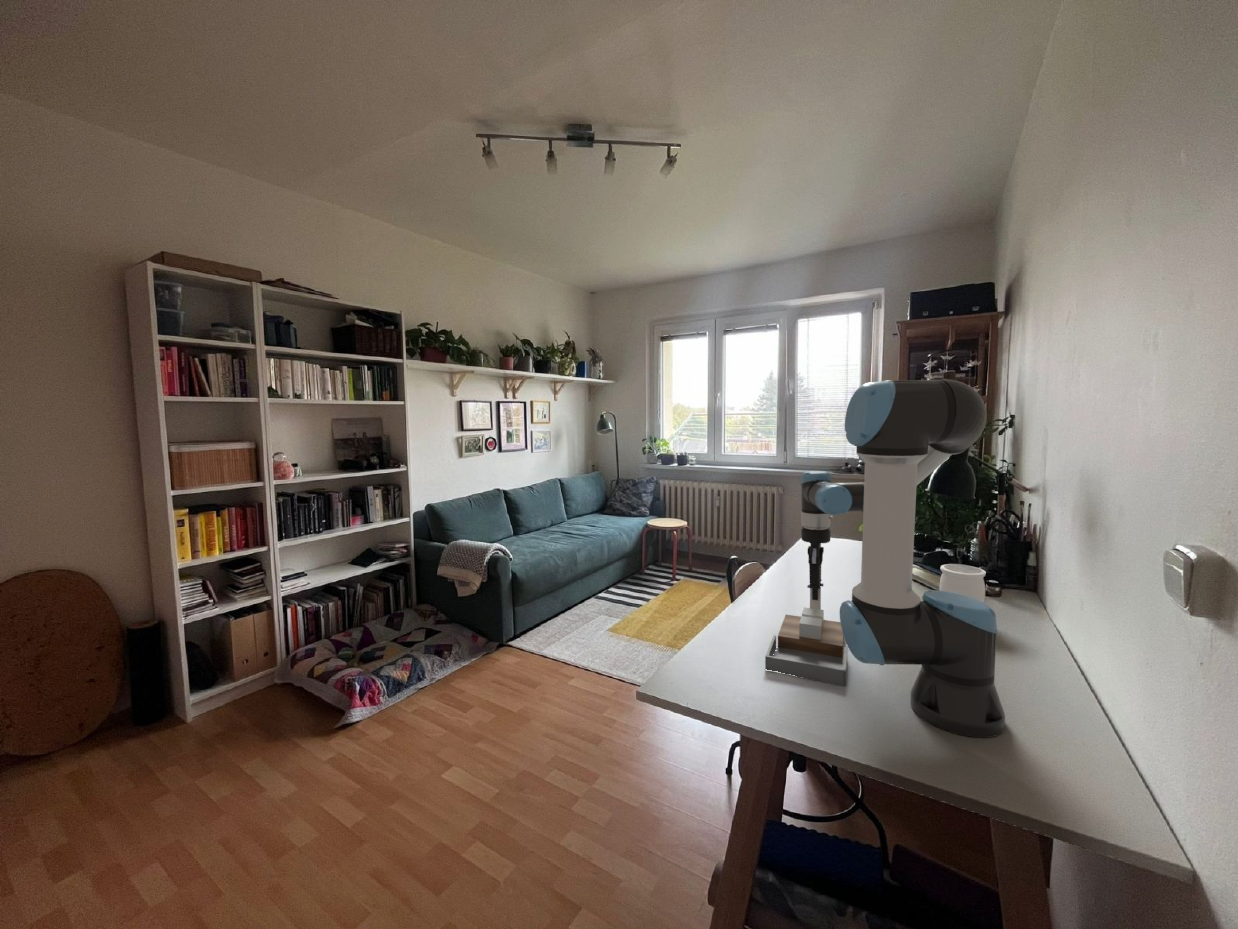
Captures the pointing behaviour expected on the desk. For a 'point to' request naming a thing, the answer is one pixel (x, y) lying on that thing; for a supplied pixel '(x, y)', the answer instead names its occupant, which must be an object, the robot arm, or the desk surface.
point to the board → (826, 646)
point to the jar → (963, 580)
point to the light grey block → (810, 627)
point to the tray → (807, 664)
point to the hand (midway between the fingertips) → (815, 609)
